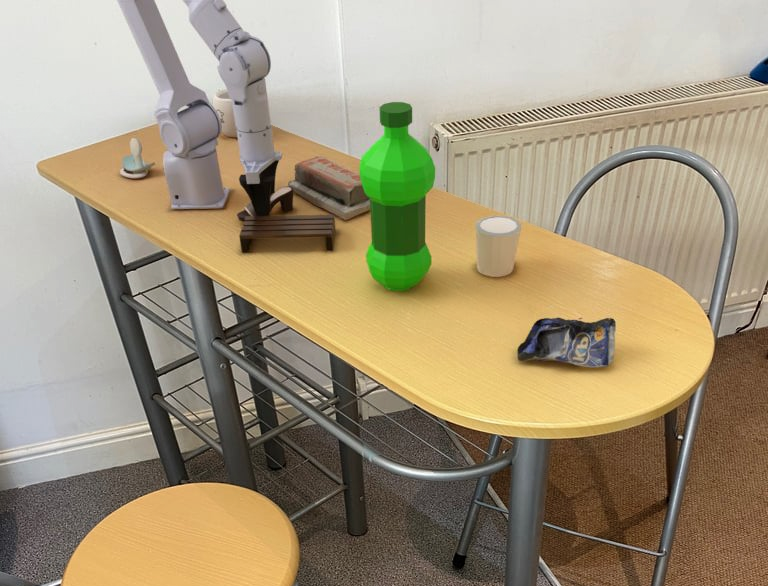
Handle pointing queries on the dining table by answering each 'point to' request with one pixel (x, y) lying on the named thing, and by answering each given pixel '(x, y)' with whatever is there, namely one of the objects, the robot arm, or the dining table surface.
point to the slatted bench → (287, 228)
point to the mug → (225, 112)
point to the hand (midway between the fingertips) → (265, 208)
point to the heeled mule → (272, 202)
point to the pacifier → (139, 165)
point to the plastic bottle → (397, 201)
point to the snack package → (570, 342)
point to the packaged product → (330, 187)
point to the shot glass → (497, 245)
